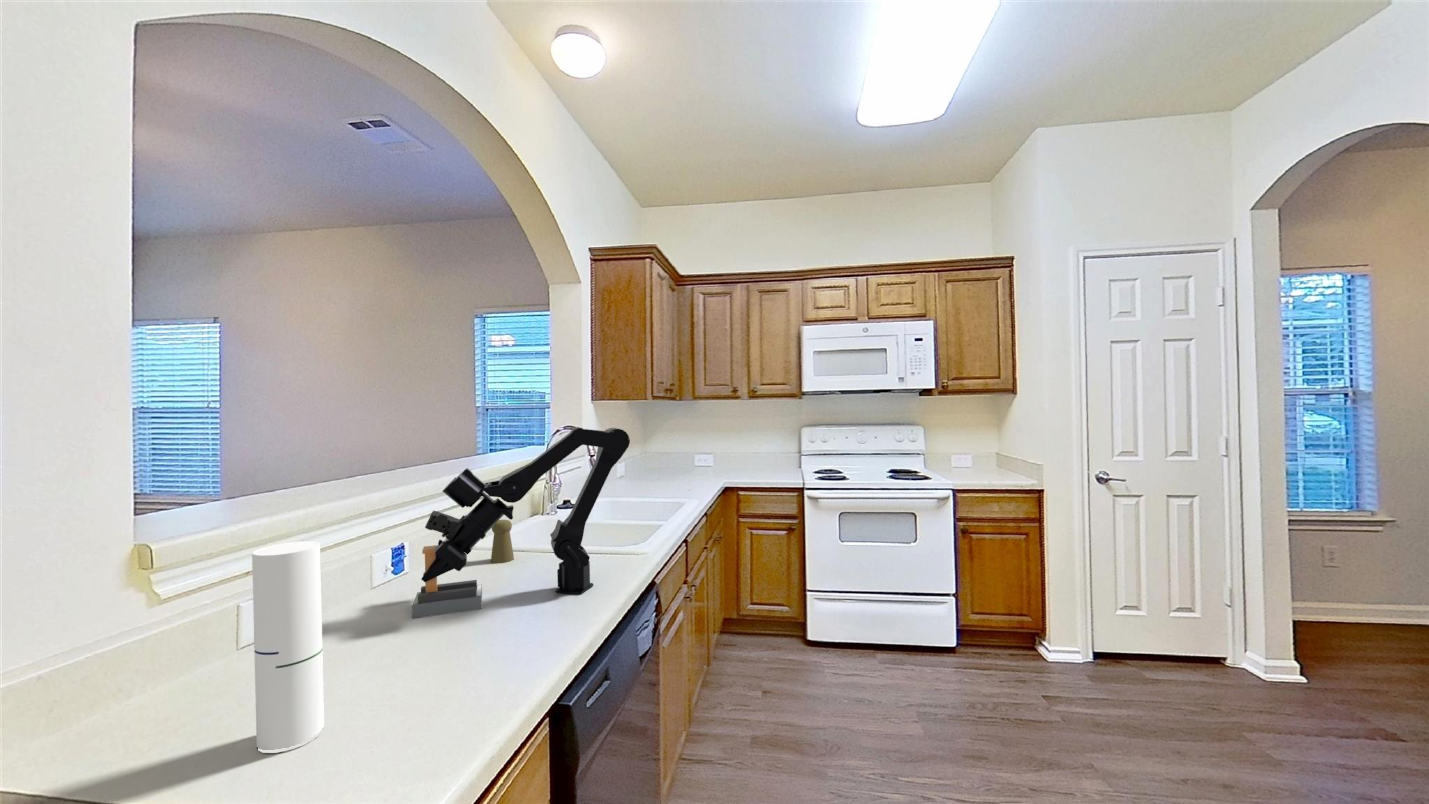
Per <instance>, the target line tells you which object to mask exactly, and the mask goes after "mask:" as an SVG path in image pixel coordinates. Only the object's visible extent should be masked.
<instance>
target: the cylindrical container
mask: <svg viewBox="0 0 1429 804" xmlns="http://www.w3.org/2000/svg"><path fill="white" fill-rule="evenodd" d="M251 561H252V563H251V565H252V566H251V569H252V571H251V572H252V603H253V604H252V605H253V646H254V648H253V649H254V650H253V652H254V654H253V655H254V686H255V691H254V692H255V724H256V725H255V726H256V727H255V729H256V730H255V731H256V732H255V733H256V738H255V739H256V748H257V747H258V748H259V749H262V750H275V749H282V748H289V747H291V746H295V745H297V744H301V743H302V742H305V741H306V740H307V739H310V738H311V737H314V735H317V734H318V733H319V732H320V731H321V730H322V728H323V727H324V728H325V710H324V709H325V705H324V701H325V700H324V668H323V667H324V663H323V661H324V660H323V659H324V658H323V656H324V655H323V624H322V623H323V621H322V620H323V618H322V616H323V615H322V613H323V612H322V583H321V582H322V579H321V578H322V576H321V574H322V572H321V543H320V542H319V541H313V540H307V541H306V540H305V541H304V540H303V541H302V540H301V541H291V542H284V543H277V544H271V545H266V546H263V547H260V548H257V549H255V550H254V551H252V552H251Z"/></svg>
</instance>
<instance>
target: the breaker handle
mask: <svg viewBox="0 0 1429 804" xmlns="http://www.w3.org/2000/svg"><path fill="white" fill-rule="evenodd" d="M438 546H439V545H438V544H437V545H435V544H434V545H427V546H425V545H424V546H423V548H422V550H421V551H422V555H424V567H425V568H424V572H425V573H426V571H427V570H428V568H429V567H430V565H431V564H432V562H433V561H434V560H435V558H436V553H435V549H436V547H438ZM424 583H425V585H424V586H425V587H426V593H429V592H437V584H438V576H437V577H435V578H433V579H431V580H429V581H427V582H424Z"/></svg>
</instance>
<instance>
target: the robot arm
mask: <svg viewBox="0 0 1429 804" xmlns="http://www.w3.org/2000/svg"><path fill="white" fill-rule="evenodd" d="M630 443H631V439H630V436H629V434H628V433H627V431H625V430H623V429H621V428H617V427H610V428H606V429H605V430H597V429H587V428H584V427H583V428H582V427H574V428H572V429H570V431H569V433H567V434H566V435H565V436H563V437H561V439H560V440H558V441H556V443H554V444H553V445H552V446H550V447H549V448H548V449H547V450H545V451H544V452H543V453H541V454H540V455H538V456H537V457H536V458H535V459H533V460H532V461H531V462H529V463H527V464H525V465H524V466H521V467H518V468H517V469H514V470H513V471H511V472H509V473H507V474H505V475H503V476H502V477H501V478H500V479H499V480H494V481H488V482H485V483H484V482H483V481H482V480H481V479H480V478H479V477H478V476H476V475H475V474H474V473H473V472H472V470H471V469H469V468H465V469H464V470H463V471H462V472H461V473H459V475H458V476H455V477H454V478H453V479H452V480H451V481H450V482H449V483H448V484H447V485H446V486H445V487H444V488H443V489H442V491H441V492H443V494H445V495H446V496H447V497H448V498H450V499H451V500H452V501H454V502H455V503H456V504H457V505H458V506H459V507H460V508H462V509H464V508H465V507H466V508H472V507H473V506H474V505H475V504H476V503H477V502H478V501H479V500H480V499H481V498H482V499H481V500H480V501H479V503H477V504H476V505H475V506H474V507H473V508H472V509H471V510H470V511H469V513H467V514H465V515H462V516H461V517H460V518H456V517H455V516H452V515H449V514H446V513H443V512H440V511H436V510H433V511H432V512H431V514H430V516H429V518H428V519H427V522H426V524H425V526H424V528H425V529H426V530H429V531H434V532H438V533H441V537H442V538H445V539H444V540H442V539H439V540H438V543H437V545H439V546H438V547H436V549H435V553H436V558H435V560H434V561H433V562H432V564H431V565H430V567H429V568H428V570H427V571H426V573H425V571H424V572H423V575H422V577H421V581H422V582H424V583H425V582H427V581H429V580H431V579H433V578H435V577H437V578H438V577H439V576H441V575H443V574H445V573H448V572H450V571H452V570H456V571H457V572H460V571H461V570H462V569H463V568H464V567H465V566H466V565H467V562H468V561H467V560H468V555H469V554H470V553H471V552H472V549H473V547H475V545H476V544H477V543H479V541H480V540H483V539H484V538H485V537H486V535H487V533H488V532H489V531H490V530H492V527H493V526H494V525H495V523H496V522H497V521H498V520H501V518H503V517H504V516H505V517H506V518H508V519H509V521H511V520H513V519H514V515H513V514H514V513H513V512H514V505H513V503H517V502H520V501H521V500H522V499H523V498H524V497H525V496H526V495H527V494H528V492H529V491H530V490H531V489H532V488H533V487H534V486H535V484H537V482H538V481H539V479H540V478H541V477H543V476H544V475H545V474H546V473H547V472H549V471H550V470H551V469H553V468H554V467H555V466H556V465H558V464H559V463H560V462H562V461H563V460H564V459H565V458H567V457H568V456H570V455H571V454H572V453H573V452H575V451H576V450H578V448H580V447H581V446H590V447H597V449H596V450H597V451H596V456H595V461H594V463H593V466H592V467H591V469H590V471H589V474H588V476H587V477H586V480H585V482H584V484H583V486H582V488H581V490H580V492H579V494H578V497H577V499H576V500H575V503H574V505H573V506H572V508H571V511H570V513H569V515H568V516H567V518H565V519H564V521H562V520H560V519H557V522H556V524H555V528H554V529H553V531H552V532H551V533H550V534H549V535H550V537H551V540H550V545H551V548H552V551H553V553H554V556H555V557H556V558H558V559H559V560H560V562H559V563H558V569H557V570H556V571H557V572H556V573H557V589H555V593H558V594H559V593H560V594H573V595H574V594H575V595H581V594H584V593H585V592H586V591H588V590H590V589H591V588H592V587H594V583H593V582H591V572H590V571H591V570H590V569H591V568H590V567H591V565H590V559H591V558H590V555H589V554H588V552H587V551H586V549H585V548H584V546H582V541H583V538H584V532H585V526H586V523H587V521H588V519H589V516H590V515H591V512H592V510H593V508H594V506H595V503H596V501H597V500H598V497H599V495H600V493H601V491H602V489H603V488H604V485H605V483H606V481H607V479H608V477H609V475H610V473H611V471H612V468H613V467H614V466H615V465H617V463H618V462H619V460H621V458H622V457H623V455H624V454H625V453H626V451H627V449H628V448H629V446H630ZM492 497H494V498H495V499H493V498H492ZM504 502H506V503H510V504H511V503H512V504H511V505H507V504H506V503H504Z"/></svg>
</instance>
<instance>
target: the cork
mask: <svg viewBox="0 0 1429 804" xmlns="http://www.w3.org/2000/svg"><path fill="white" fill-rule="evenodd" d="M512 528H513V525H512V522H511V520H510V519H509V520H508V519H499V520H498V521H497V522H496V523H495V525H494V526H493V527H492V528H491V531H492V532H493V539H492V548H491V557H490V563H492V564H504V563H509V562H512V561H514V560H515V557H514V550H513V544H512V538H511V530H512Z"/></svg>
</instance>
